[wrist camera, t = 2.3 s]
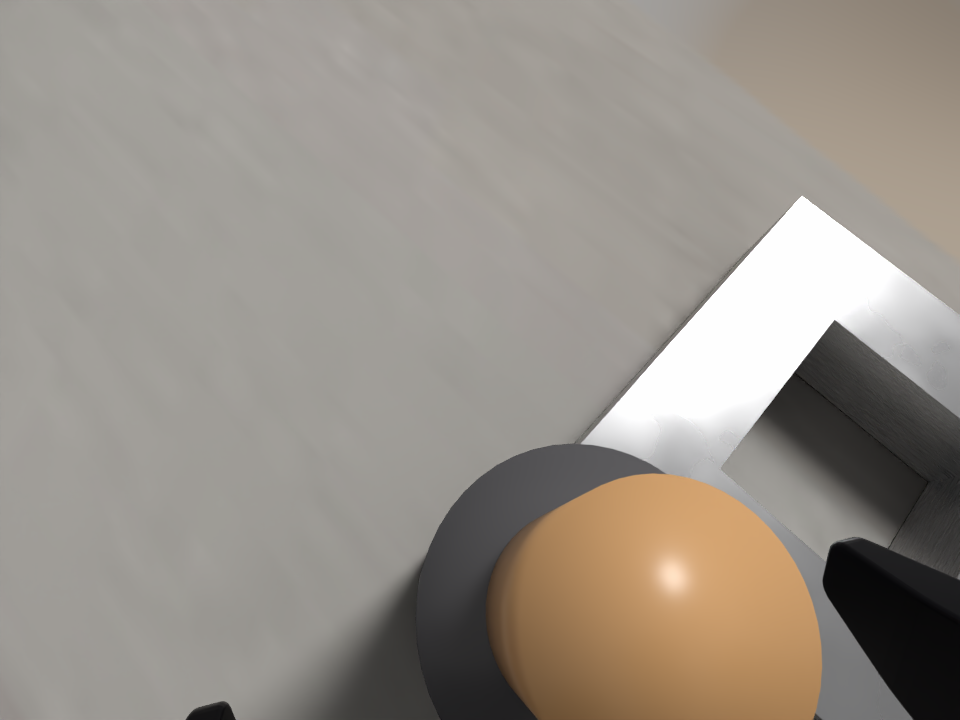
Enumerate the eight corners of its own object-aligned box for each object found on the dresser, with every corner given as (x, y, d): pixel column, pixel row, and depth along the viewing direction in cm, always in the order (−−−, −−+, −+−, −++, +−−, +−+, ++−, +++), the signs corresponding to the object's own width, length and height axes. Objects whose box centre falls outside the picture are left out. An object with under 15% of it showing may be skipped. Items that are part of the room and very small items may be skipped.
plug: (590, 589, 16) (1002, 614, 5) (494, 710, 15) (739, 1137, 4) (486, 489, 17) (630, 299, 6) (386, 596, 16) (300, 643, 4)
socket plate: (1048, 480, 19) (1156, 463, 16) (876, 813, 15) (979, 866, 12) (751, 246, 21) (801, 196, 18) (534, 488, 17) (556, 470, 15)
